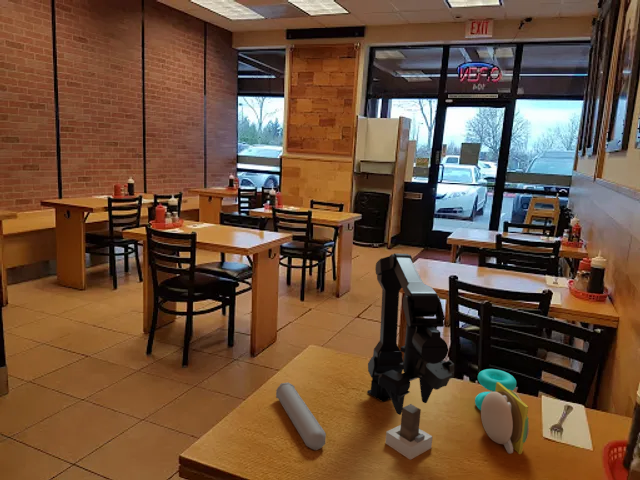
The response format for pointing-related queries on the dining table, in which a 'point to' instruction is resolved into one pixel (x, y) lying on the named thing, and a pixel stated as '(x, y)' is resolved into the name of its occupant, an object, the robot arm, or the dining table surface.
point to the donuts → (493, 382)
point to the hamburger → (505, 418)
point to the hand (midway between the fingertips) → (411, 408)
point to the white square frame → (408, 442)
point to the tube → (301, 416)
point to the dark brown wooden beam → (410, 422)
